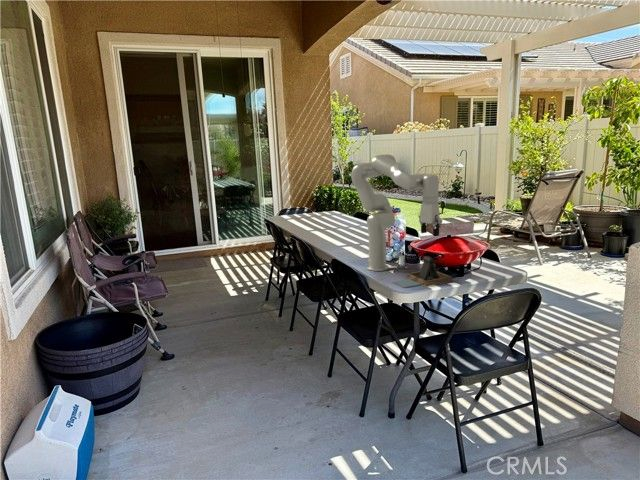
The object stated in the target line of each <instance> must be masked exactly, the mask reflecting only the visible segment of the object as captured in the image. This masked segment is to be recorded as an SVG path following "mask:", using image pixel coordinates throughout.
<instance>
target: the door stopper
mask: <svg viewBox="0 0 640 480" xmlns="http://www.w3.org/2000/svg"><path fill="white" fill-rule="evenodd" d="M435 262H436V260H435V259H434V258H432V257H430V256H429V255H425V256H423V263H422V266H421V268H420V270H419V271H420V274H419V277H418V278H421V279H423V280H425V281H428V280H434V279H439V276H438V273H437V272H438V270H437V268H436V264H435ZM429 272H430V275H429Z"/></svg>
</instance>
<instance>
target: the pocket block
mask: <svg viewBox="0 0 640 480" xmlns="http://www.w3.org/2000/svg"><path fill="white" fill-rule="evenodd" d="M420 271H421V270H419V271H414V272H410V273H406V279H410V280H413V281H415V282H417V283H420V284H421V285H420V286H424V287H431V286H437V285H441V284H447V283H452V282H453V277H452V276H450V275H447V274H445V273H442V272H440V271H437V273H438V276H439V277H440V278H439V279H434V280H428V281H425V280H423V279H421V278H418V277H419V274H420Z"/></svg>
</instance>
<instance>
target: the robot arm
mask: <svg viewBox="0 0 640 480" xmlns="http://www.w3.org/2000/svg"><path fill="white" fill-rule="evenodd" d="M371 159H372V160H371V162H361V163H357V164H356V165H354V166H353V168H352V170H351V172H350V173H351V175H350V176H351V182H352V184H353V186H354V188H355V190H356V192H357V194H358V195H357V196H358V197H359V200H360V203H361V205H362V208H363V210H364V211H365V212H366V213H367V212H368V213H371V214H369V216H367V219H366V227H367V231H368V259H367V260H366V261H367V263H368V264H367V265H366V266H365V268H366V270H369V271H372V272H373V271H374V272H382V271H386V270H387V271H388V270H389V268H390V266H389V265H388V264H387V240H386V239H387V237H386V233H385V231H384V230H385V229H388V228H389V229H390V228H392V227H393V226H394V225H395V222H396V216H395V214H394V211H393V209H392V206H391V204H390V201H389V199H388V197H387V196H386V195H384V194H383V193H375V192H374V190H373V186H372V184H371V183H370V182H369V181H368V180H367V179H372V178H377V177H380V176H382V175H385V176H387V177H388V178H391V180H392V181H393V183H394V184H395V185H397V186H398V187H401V188H402V189H404V190H406V191H416V190H422V202H421V204H420V211H419V213H420V214H419V215H418V219H419V225H420V233H421V234H427V232H428V225H432V226H433V230H432V234H433V235H432V236H433V237H439V236H440V228H441V226H442V223H443V219H442V218H441V217H440V207H439V175H438V174H424V173H418V174H410V173H409V174H408V173H406V172H404V171H402V170H403V166H402V164H401V163H399V162H397V160H396V158H395V156H394V155H391V154H378V155H375V156H374V157H372V158H371ZM372 212H375V213H372Z"/></svg>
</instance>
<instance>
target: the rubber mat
mask: <svg viewBox="0 0 640 480" xmlns="http://www.w3.org/2000/svg"><path fill="white" fill-rule="evenodd" d="M392 284H394V285H396V286H399V287H401V288H403V289H407V288H412V287H418V286H422V285H421V284H420V283H417V282H415V281H413V280H410V279H407V278H406V279H401V280H395V281H392Z"/></svg>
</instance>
